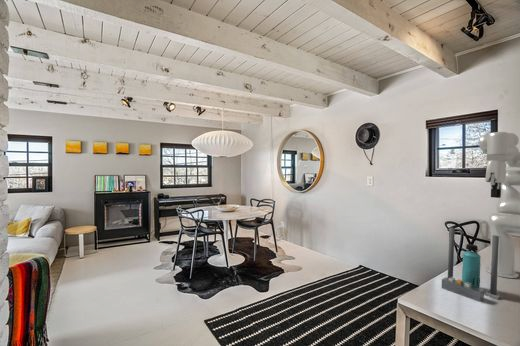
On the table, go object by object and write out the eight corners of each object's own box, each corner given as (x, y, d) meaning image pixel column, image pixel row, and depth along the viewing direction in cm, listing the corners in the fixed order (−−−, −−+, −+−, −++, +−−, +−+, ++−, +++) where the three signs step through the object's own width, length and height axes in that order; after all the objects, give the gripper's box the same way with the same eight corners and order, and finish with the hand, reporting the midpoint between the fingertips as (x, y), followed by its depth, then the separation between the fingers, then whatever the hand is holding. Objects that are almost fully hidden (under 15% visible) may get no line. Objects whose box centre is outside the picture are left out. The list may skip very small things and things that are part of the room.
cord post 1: (447, 279, 127) (449, 226, 127) (456, 282, 124) (458, 228, 123) (443, 281, 125) (445, 227, 124) (453, 284, 122) (455, 229, 121)
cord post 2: (488, 293, 114) (491, 234, 113) (500, 297, 110) (503, 236, 110) (485, 295, 111) (487, 235, 111) (497, 299, 108) (500, 237, 107)
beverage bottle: (472, 292, 114) (474, 247, 113) (457, 286, 120) (459, 243, 119) (483, 291, 115) (485, 246, 115) (468, 284, 122) (469, 242, 121)
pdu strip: (445, 285, 120) (446, 274, 120) (483, 299, 108) (484, 287, 108) (441, 287, 118) (441, 276, 118) (479, 301, 106) (480, 289, 106)
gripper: (492, 159, 129) (491, 195, 130) (480, 158, 121) (479, 197, 122) (513, 159, 123) (511, 197, 123) (502, 157, 115) (500, 199, 115)
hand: (495, 197), depth 123 cm, fingers closed
